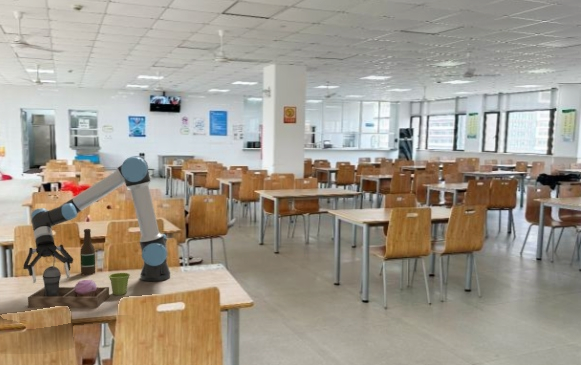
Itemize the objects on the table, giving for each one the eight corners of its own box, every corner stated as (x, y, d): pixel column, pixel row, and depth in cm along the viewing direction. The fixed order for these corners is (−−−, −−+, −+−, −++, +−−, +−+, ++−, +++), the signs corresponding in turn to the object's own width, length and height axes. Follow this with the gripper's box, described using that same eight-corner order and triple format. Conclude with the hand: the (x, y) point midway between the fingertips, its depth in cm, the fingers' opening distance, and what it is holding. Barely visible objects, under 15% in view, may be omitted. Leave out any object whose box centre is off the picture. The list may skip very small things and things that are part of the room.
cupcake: (70, 303, 214) (70, 281, 213) (85, 298, 222) (85, 276, 221) (86, 306, 210) (86, 283, 210) (101, 300, 219) (100, 278, 218)
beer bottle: (98, 273, 264) (97, 229, 262) (84, 276, 258) (83, 231, 256) (92, 270, 269) (91, 227, 267) (77, 273, 263) (76, 229, 261)
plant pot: (108, 291, 232) (108, 273, 231) (129, 289, 235) (129, 271, 235) (109, 297, 223) (108, 278, 223) (130, 295, 227) (130, 276, 226)
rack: (109, 296, 224) (109, 287, 223) (97, 307, 209) (96, 297, 208) (45, 296, 223) (44, 286, 223) (28, 307, 208) (27, 297, 208)
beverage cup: (46, 298, 219) (46, 254, 217) (63, 298, 219) (63, 255, 217) (39, 304, 211) (39, 258, 210) (57, 304, 212) (57, 258, 210)
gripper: (71, 240, 233) (80, 278, 222) (12, 246, 218) (18, 287, 207) (74, 231, 228) (83, 270, 217) (14, 236, 214) (20, 278, 203)
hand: (51, 278), depth 212 cm, fingers open, 13 cm apart
